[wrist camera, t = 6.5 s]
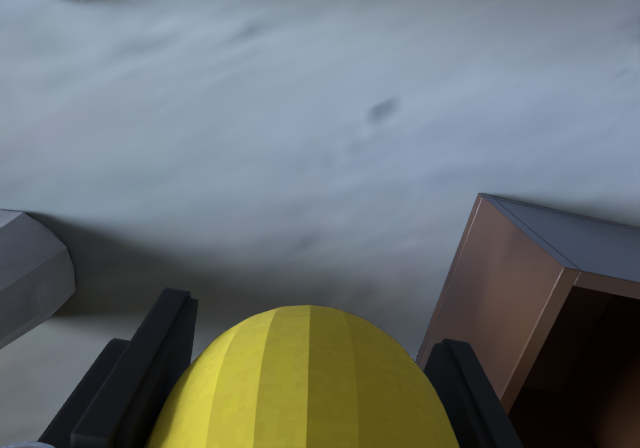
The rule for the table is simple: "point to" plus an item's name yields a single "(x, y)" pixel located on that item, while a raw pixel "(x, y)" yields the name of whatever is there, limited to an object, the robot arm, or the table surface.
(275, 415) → the lemon
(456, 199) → the table surface
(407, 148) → the table surface
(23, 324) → the coffeepot
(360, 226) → the table surface
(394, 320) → the table surface
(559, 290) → the chest
